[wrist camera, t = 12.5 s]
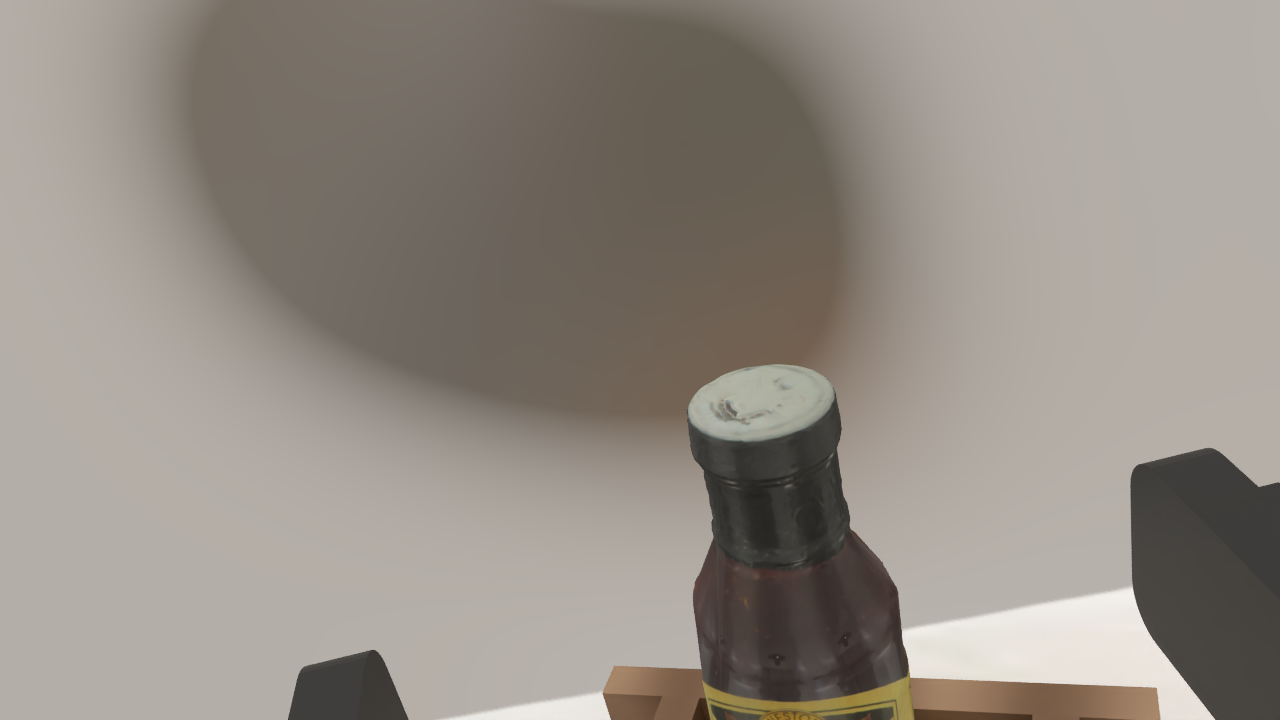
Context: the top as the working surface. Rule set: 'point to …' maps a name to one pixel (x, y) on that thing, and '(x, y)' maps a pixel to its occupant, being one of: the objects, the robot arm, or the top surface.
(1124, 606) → the top surface
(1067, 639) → the top surface
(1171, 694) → the top surface
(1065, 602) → the top surface
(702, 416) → the sauce bottle
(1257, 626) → the robot arm
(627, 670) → the rack
